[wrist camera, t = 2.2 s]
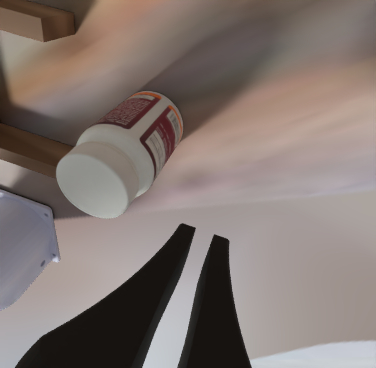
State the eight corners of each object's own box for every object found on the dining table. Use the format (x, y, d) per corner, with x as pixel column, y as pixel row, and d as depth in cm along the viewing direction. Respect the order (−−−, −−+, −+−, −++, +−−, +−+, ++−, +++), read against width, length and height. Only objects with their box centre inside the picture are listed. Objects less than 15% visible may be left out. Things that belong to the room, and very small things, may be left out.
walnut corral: (83, 161, 25) (62, 180, 22) (-8, 131, 26) (-37, 146, 23) (73, 13, 18) (40, 18, 15) (-52, -21, 19) (-101, -21, 16)
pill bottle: (114, 127, 22) (40, 190, 15) (139, 75, 19) (59, 126, 12) (165, 162, 22) (114, 238, 16) (197, 117, 19) (150, 188, 13)
